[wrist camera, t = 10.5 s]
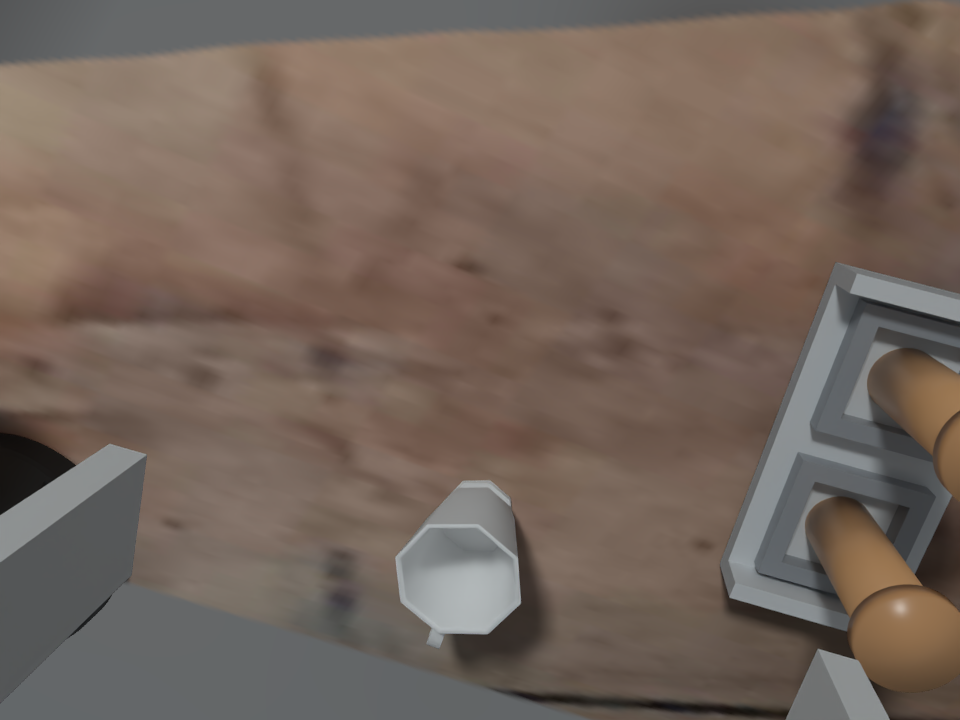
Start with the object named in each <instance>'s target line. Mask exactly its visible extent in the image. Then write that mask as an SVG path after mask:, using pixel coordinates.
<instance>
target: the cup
mask: <svg viewBox="0 0 960 720" xmlns="http://www.w3.org/2000/svg"><path fill="white" fill-rule="evenodd" d="M395 559H396V568H397V576H398V585H399V593H400V602H401V603H402V604H403V605H405V606H406V607H407V608H408V609H410V610H411V611H412V612H413V613H414V614H416V615H417V616H418V617H419V618H420V619H422V620H423V621H424V622H425V623H426V624H428V625H429V626H430V627H431V630H430V633H429V637H428V640H427V643H426V644H427V645H429V646H432V647H435V648H437V649H439V648H440V645H441V643H442V640H443V638H444V635H445V634H489V633H490V632H491V631H492V630H493V629H494V628H495V627H496V626H497V625H499V624H500V623H501V622H502V621H503V620H504V619H505V618H506V617H507V616H508V615H509V614H510V613H511V612H513V611H514V610H515V609H516V608H517V607H518V606H519V605H520V604H521V595H520V580H519V566H518V552H517V542H516V530H515V519H514V516H513V513H512V508H511V498H510V497H509V496H508V495H507V494H506V493H504V492H503V491H502V490H501V489H500V488H499V487H497V486H496V485H495V484H494V483H493V482H492V481H490V480H480V481H462V482H461V483H460V485H459V486H458V487H457V488H456V489H455V490H454V491H453V492H452V493H451V494H450V495H449V496H448V497H447V498H446V499H445V500H444V501H443V502H442V503H441V505H440V506H439V507H438V508H437V509H436V510H435V511H434V512H433V513H432V514H431V515H430V516H429V517H428V518H427V519H426V520H425V521H424V523H423V524H422V525H421V526H420V528H419V529H418V530H417V531H416V533H415V534H414V535H413V536H412V538H411V539H410V540H409V541H408V542H407V543H406V545H405V546H404V547H403V548H402V549H401V551H400V552H399V553H398V554H397V556H396V557H395Z"/></svg>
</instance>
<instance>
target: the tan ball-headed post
mask: <svg viewBox="0 0 960 720" xmlns="http://www.w3.org/2000/svg"><path fill="white" fill-rule="evenodd" d="M867 388H868V392H869V394H870V397H871V398H872V400H873V401H874V402H875V403H876V404H877V405H878V406H879V407H880V408H881V409H882V410H883V411H885V412H886V413H887V414H888V415H889V416H890V417H891V418H892V419H893V420H894V421H895V422H896V423H897V424H898V425H900V426H901V427H902V428H903V429H904V430H905V431H906V432H907V433H908V434H909V435H910V436H911V437H912V438H914V439H915V440H916V441H917V442H918V443H919V444H920V445H921V446H922V447H923V448H924V449H925V450H926V451H927V452H929V453H930V454H931V455H932V456H933V457H932V458H933V466H934V470H935V473H936V475H937V478H938V479H939V481H940V483H941V484H942V485H943V486H944V487H945V489H946V490H947V491H948V492H949V493H950V494H951V495H952V496H953V497H954V498H955V499H957V500H958V501H959V502H960V375H959V374H958V373H956V372H954V371H953V370H951V369H950V368H948V367H947V366H945V365H944V364H942V363H940V362H939V361H937V360H936V359H934V358H933V357H931V356H930V355H928V354H926V353H925V352H923V351H921V350H918V349H913V348H900V349H895V350H892V351H890V352H888V353H886V354H884V355H883V356H881V357H880V358H879V359H878V360H877V361H876V362H875V363H874V365H873V366H872V368H871V370H870V372H869V374H868V379H867Z"/></svg>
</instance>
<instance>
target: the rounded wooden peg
mask: <svg viewBox="0 0 960 720" xmlns="http://www.w3.org/2000/svg"><path fill="white" fill-rule="evenodd" d="M805 532H806V535H807V538H808V540H809V541H810V543H811V545H812V547H813V549H814V551H815V553H816V555H817V557H818V559H819V560H820V562H821V564H822V566H823V568H824V570H825V572H826V574H827V576H828V578H829V579H830V581H831V583H832V585H833V587H834V589H835V591H836V593H837V595H838V597H839V599H840V600H841V602H842V604H843V606H844V608H845V610H846V612H847V614H848V616H849V618H850V620H849V623H848V628H847V638H848V643H849V646H850V648H851V651H852V653H853V655H854V657H855V659H856V660H858V661H859V662H860V664H861V666H862V668H863V670H864V672H865V673H866V675H867V677H868V678H870V679H871V680H872V681H873V682H875V683H877V684H878V685H880V686H882V687H884V688H887V689H890V690H893V691H898V692H905V693H916V692H924V691H929V690H933V689H936V688H938V687H941V686H943V685H945V684H947V683H948V682H950V681H951V680H953V679H954V678H955V677H956V676H958V675H959V674H960V612H959V611H958V609H957V608H956V607H955V606H954V604H953V603H952V602H951V601H950V600H949V599H948V598H947V597H945V596H944V595H943V594H941V593H939V592H937V591H935V590H933V589H931V588H928V587H924V586H922V584H921V583H920V581H919V580H918V579H917V577H916V576H915V575H914V573H913V572H912V570H911V569H910V568H909V566H908V565H907V564H906V562H905V561H904V559H903V558H902V557H901V555H900V554H899V552H898V551H897V550H896V548H895V547H894V546H893V544H892V543H891V541H890V540H889V539H888V537H887V536H886V534H885V533H884V532H883V530H882V529H881V528H880V526H879V525H878V523H877V522H876V521H875V519H874V518H873V517H872V515H871V514H870V512H869V511H868V510H867V508H866V507H865V506H864V505H863V504H862V503H860V502H859V501H857V500H855V499H852V498H849V497H843V496H837V497H831V498H827V499H825V500H822V501H820V502H819V503H817V504H816V505H815V506H814V507H813V508H812V509H811V510H810V512H809V513H808V515H807V517H806V520H805Z"/></svg>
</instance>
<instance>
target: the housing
mask: <svg viewBox="0 0 960 720" xmlns="http://www.w3.org/2000/svg"><path fill="white" fill-rule="evenodd" d="M900 348H913V349H918V350H921V351H923V352H925V353H926V354H928V355H930V356H931V357H933V358H934V359H936V360H937V361H939V362H940V363H942V364H944V365H945V366H947V367H948V368H950V369H951V370H953V371H954V372H956V373H958V374H959V375H960V294H958V293H954V292H950V291H946V290H942V289H938V288H934V287H931V286H927V285H923V284H919V283H915V282H911V281H907V280H903V279H900V278H896V277H892V276H888V275H884V274H880V273H876V272H872V271H868V270H865V269H861V268H857V267H853V266H849V265H845V264H841V263H837V262H836V263H835V265H834V268H833V271H832V273H831V276H830V278H829V281H828V284H827V286H826V289H825V291H824V294H823V297H822V299H821V302H820V304H819V307H818V310H817V312H816V315H815V317H814V320H813V323H812V325H811V328H810V330H809V333H808V336H807V338H806V341H805V343H804V346H803V349H802V351H801V354H800V357H799V359H798V362H797V364H796V367H795V370H794V372H793V375H792V377H791V380H790V383H789V385H788V388H787V390H786V393H785V396H784V398H783V401H782V403H781V406H780V409H779V411H778V414H777V416H776V419H775V422H774V424H773V427H772V429H771V432H770V435H769V437H768V440H767V442H766V445H765V448H764V450H763V453H762V455H761V458H760V461H759V463H758V466H757V468H756V471H755V474H754V476H753V479H752V481H751V484H750V487H749V489H748V492H747V494H746V497H745V500H744V502H743V505H742V507H741V510H740V513H739V515H738V518H737V520H736V523H735V526H734V528H733V531H732V533H731V536H730V539H729V541H728V544H727V546H726V549H725V552H724V554H723V557H722V559H721V562H720V567H721V570H722V574H723V577H724V581H725V584H726V588H727V591H728V595H729V598H732V599H736V600H739V601H743V602H746V603H750V604H753V605H757V606H760V607H764V608H767V609H770V610H774V611H777V612H781V613H784V614H788V615H791V616H795V617H798V618H802V619H805V620H809V621H812V622H816V623H819V624H823V625H826V626H829V627H833V628H836V629H840V630H843V631H847V628H848V623H849V620H850V618H849V616H848V614H847V612H846V610H845V608H844V606H843V604H842V602H841V600H840V599H839V597H838V595H837V593H836V591H835V589H834V587H833V585H832V583H831V581H830V579H829V578H828V576H827V574H826V572H825V570H824V568H823V566H822V564H821V562H820V560H819V559H818V557H817V555H816V553H815V551H814V549H813V547H812V545H811V543H810V541H809V540H808V538H807V535H806V532H805V520H806V517H807V515H808V513H809V512H810V510H811V509H812V508H813V507H814V506H815V505H816V504H817V503H819V502H820V501H822V500H825V499H827V498H831V497H837V496H843V497H849V498H852V499H855V500H857V501H859V502H860V503H862V504H863V505H864V506H865V507H866V508H867V510H868V511H869V512H870V514H871V515H872V517H873V518H874V519H875V521H876V522H877V523H878V525H879V526H880V528H881V529H882V530H883V532H884V533H885V534H886V536H887V537H888V539H889V540H890V541H891V543H892V544H893V546H894V547H895V548H896V550H897V551H898V552H899V554H900V555H901V557H902V558H903V559H904V561H905V562H906V564H907V565H908V566H909V568H910V569H911V570H912V572H913V573H914V575H915V573H916V570H917V568H918V566H919V564H920V562H921V560H922V558H923V556H924V554H925V551H926V549H927V547H928V545H929V543H930V541H931V539H932V537H933V535H934V533H935V530H936V528H937V526H938V524H939V522H940V520H941V518H942V516H943V514H944V511H945V509H946V507H947V505H948V503H949V501H950V499H951V497H952V495H951V494H950V493H949V492H948V491H947V490H946V489H945V487H944V486H943V485H942V484H941V483H940V481H939V479H938V478H937V475H936V473H935V470H934V466H933V458H932V457H933V456H932V455H931V454H930V453H929V452H927V451H926V450H925V449H924V448H923V447H922V446H921V445H920V444H919V443H918V442H917V441H916V440H915V439H914V438H912V437H911V436H910V435H909V434H908V433H907V432H906V431H905V430H904V429H903V428H902V427H901V426H900V425H898V424H897V423H896V422H895V421H894V420H893V419H892V418H891V417H890V416H889V415H888V414H887V413H886V412H885V411H883V410H882V409H881V408H880V407H879V406H878V405H877V404H876V403H875V402H874V401H873V400H872V398H871V397H870V394H869V392H868V388H867V379H868V374H869V372H870V370H871V368H872V366H873V365H874V363H875V362H876V361H877V360H878V359H879V358H880V357H881V356H883V355H884V354H886V353H888V352H890V351H892V350H895V349H900Z"/></svg>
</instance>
